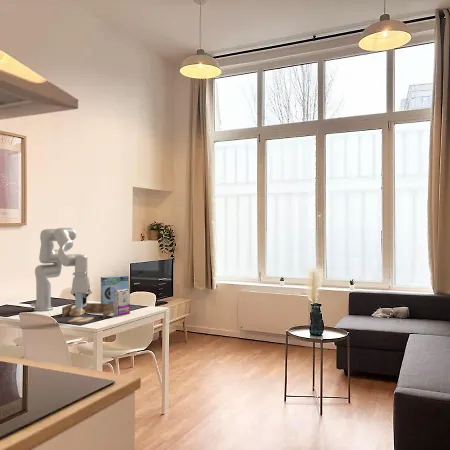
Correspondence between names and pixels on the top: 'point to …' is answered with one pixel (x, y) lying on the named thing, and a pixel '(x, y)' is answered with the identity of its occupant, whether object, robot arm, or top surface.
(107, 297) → the blue cardboard box
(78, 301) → the pale blue block
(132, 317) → the top surface
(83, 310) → the oak offcut
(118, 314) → the candy bar box
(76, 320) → the mat
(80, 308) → the birch offcut
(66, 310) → the rack
